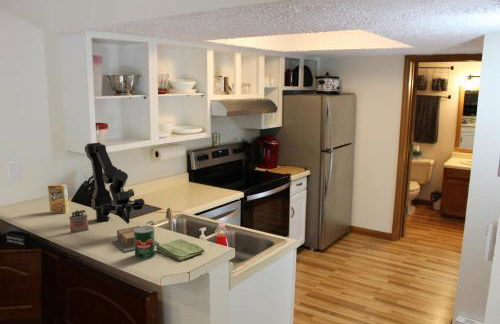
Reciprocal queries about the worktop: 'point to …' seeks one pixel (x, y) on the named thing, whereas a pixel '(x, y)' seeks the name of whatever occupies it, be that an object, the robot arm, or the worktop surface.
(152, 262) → the worktop surface
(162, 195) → the worktop surface
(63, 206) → the candy box
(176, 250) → the washcloth
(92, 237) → the worktop surface
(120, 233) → the walnut slab
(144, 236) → the canned tomato
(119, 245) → the mat
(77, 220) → the red patterned tin
